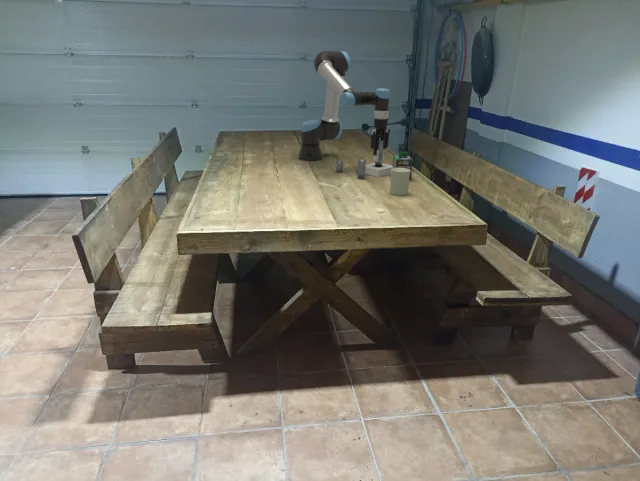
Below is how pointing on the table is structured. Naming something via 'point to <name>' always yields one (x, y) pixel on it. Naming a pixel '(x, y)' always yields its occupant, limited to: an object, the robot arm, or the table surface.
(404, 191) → the can
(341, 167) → the short pin
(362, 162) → the medium pin
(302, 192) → the table surface
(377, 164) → the long pin
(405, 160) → the chalk box
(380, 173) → the socket block
